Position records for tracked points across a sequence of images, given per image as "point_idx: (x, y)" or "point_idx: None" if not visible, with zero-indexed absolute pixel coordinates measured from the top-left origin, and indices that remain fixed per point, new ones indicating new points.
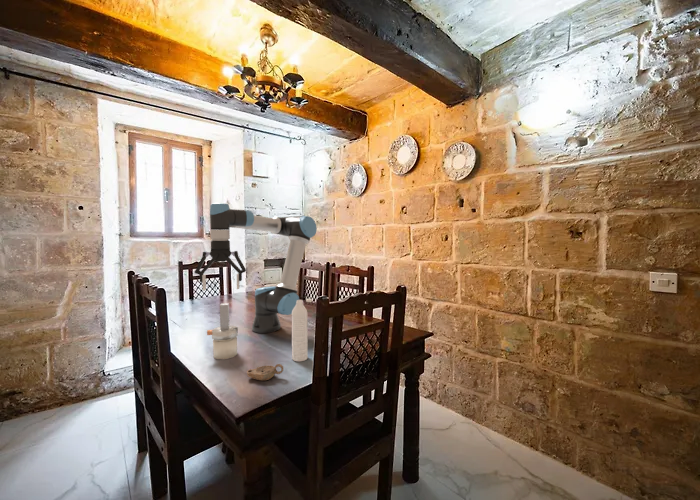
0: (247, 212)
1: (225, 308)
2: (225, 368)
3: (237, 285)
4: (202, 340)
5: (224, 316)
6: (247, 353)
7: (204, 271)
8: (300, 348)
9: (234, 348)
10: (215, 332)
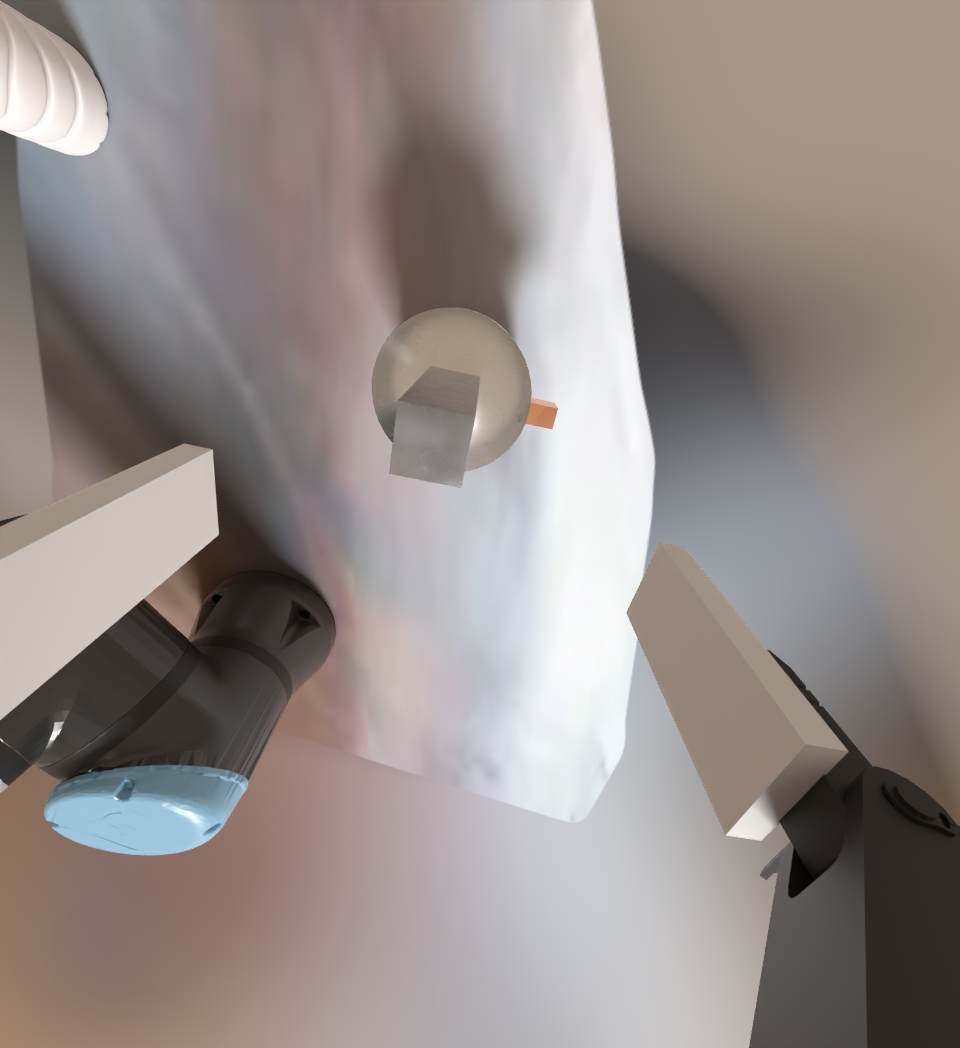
0: None
1: (426, 399)
2: (473, 168)
3: (163, 468)
4: (541, 594)
5: (444, 386)
6: (359, 340)
7: (872, 858)
8: None
9: None
10: (512, 351)
